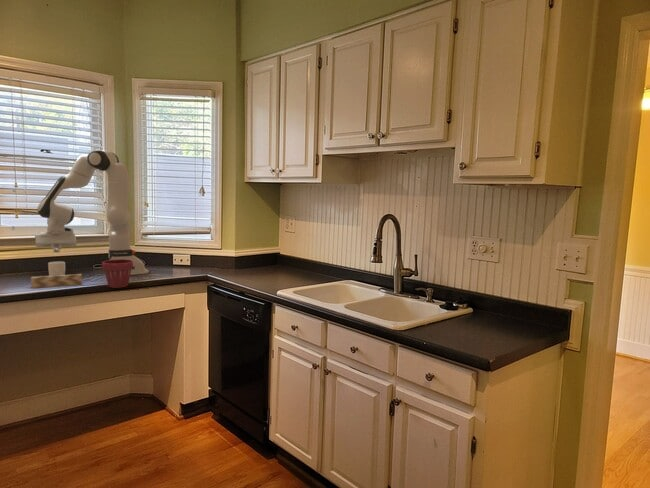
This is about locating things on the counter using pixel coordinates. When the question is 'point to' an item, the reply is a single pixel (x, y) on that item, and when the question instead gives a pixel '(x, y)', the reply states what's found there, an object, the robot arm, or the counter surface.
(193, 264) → the counter surface
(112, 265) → the plant pot
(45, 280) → the end stop
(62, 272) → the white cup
